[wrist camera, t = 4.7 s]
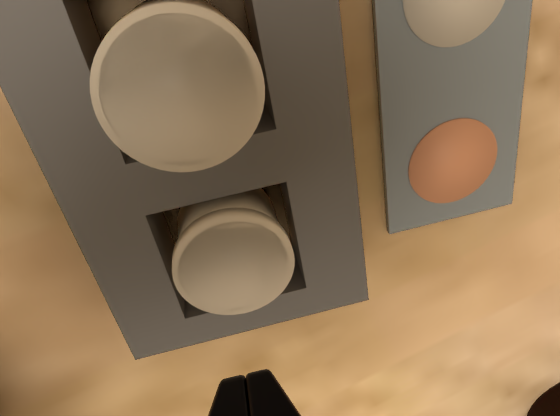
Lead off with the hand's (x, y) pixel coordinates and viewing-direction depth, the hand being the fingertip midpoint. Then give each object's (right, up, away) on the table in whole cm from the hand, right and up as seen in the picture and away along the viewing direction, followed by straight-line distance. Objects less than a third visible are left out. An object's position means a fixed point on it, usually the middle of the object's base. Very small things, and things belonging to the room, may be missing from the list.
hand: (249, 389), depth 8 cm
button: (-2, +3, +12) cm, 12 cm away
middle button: (-3, +8, +7) cm, 11 cm away
